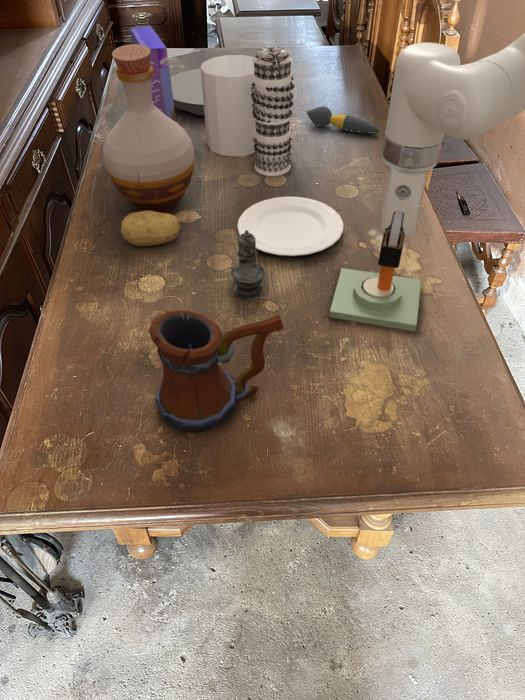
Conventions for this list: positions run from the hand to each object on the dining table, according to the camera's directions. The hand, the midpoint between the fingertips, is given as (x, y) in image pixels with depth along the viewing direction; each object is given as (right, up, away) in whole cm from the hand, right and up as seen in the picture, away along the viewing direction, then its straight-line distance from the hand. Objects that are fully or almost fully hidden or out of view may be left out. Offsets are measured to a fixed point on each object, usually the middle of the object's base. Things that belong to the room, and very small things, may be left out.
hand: (389, 259), depth 86 cm
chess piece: (-23, -4, +9) cm, 25 cm away
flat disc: (-34, +56, +68) cm, 95 cm away
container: (-27, +37, +49) cm, 67 cm away
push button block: (-1, -6, +6) cm, 9 cm away
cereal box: (-45, +38, +50) cm, 77 cm away
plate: (-15, +9, +22) cm, 28 cm away
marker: (0, -4, +4) cm, 6 cm away
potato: (-41, +6, +20) cm, 46 cm away
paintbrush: (0, +43, +54) cm, 69 cm away
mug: (-26, -22, -8) cm, 35 cm away
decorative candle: (-18, +28, +40) cm, 52 cm away
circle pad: (-1, -5, +5) cm, 7 cm away
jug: (-43, +17, +30) cm, 55 cm away
